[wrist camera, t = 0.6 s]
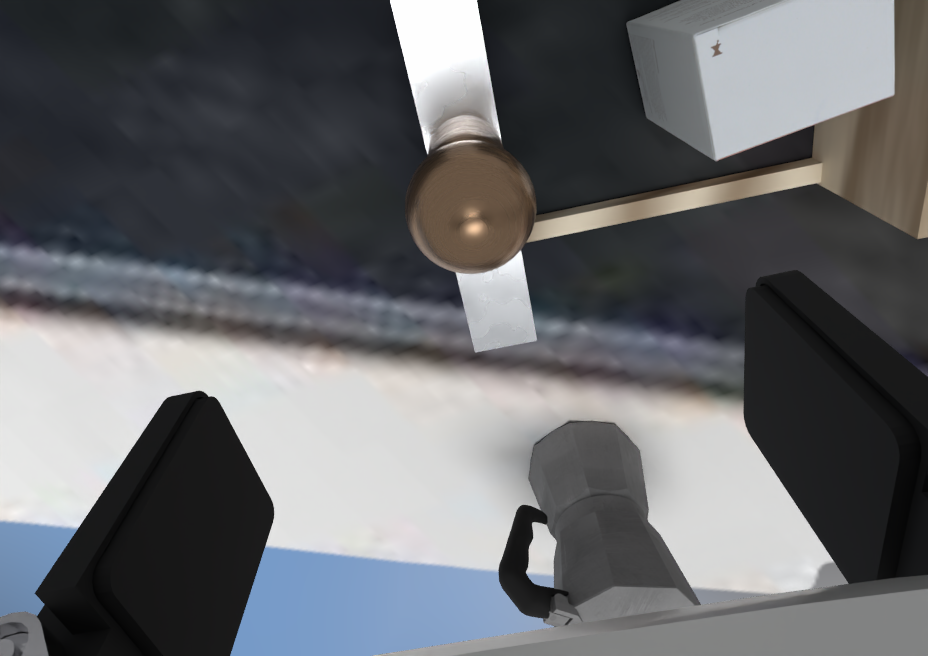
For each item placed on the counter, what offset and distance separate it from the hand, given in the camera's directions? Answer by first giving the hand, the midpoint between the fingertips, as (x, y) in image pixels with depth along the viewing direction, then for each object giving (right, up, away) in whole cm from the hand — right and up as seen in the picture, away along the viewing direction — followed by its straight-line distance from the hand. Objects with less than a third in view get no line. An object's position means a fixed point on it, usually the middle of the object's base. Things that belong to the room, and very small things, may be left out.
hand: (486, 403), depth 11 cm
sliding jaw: (-1, +14, +23) cm, 27 cm away
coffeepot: (+8, -9, +39) cm, 41 cm away
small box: (+13, +17, +23) cm, 32 cm away
